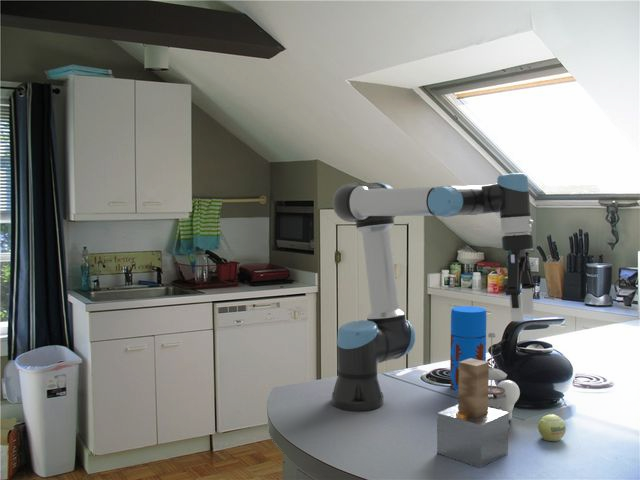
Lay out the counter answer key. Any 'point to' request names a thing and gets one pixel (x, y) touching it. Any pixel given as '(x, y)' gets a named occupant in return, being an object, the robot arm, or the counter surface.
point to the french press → (495, 390)
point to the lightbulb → (509, 394)
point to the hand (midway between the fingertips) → (523, 317)
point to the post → (473, 387)
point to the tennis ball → (551, 427)
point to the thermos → (466, 338)
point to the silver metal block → (472, 435)
